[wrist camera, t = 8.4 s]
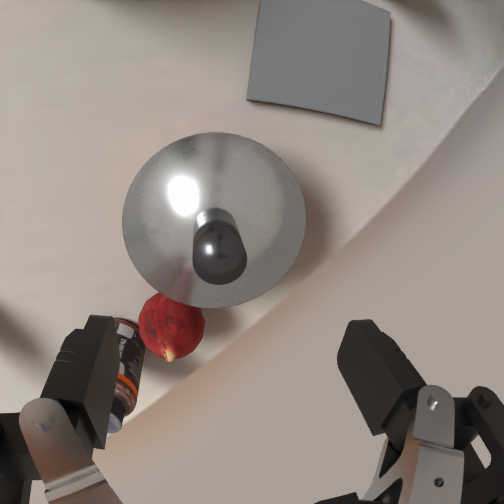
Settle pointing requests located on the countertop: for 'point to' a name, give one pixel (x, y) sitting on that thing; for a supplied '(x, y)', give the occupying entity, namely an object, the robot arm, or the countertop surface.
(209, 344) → the countertop surface
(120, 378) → the supplement bottle
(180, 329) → the onion
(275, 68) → the mat
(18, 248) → the countertop surface
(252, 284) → the lid
